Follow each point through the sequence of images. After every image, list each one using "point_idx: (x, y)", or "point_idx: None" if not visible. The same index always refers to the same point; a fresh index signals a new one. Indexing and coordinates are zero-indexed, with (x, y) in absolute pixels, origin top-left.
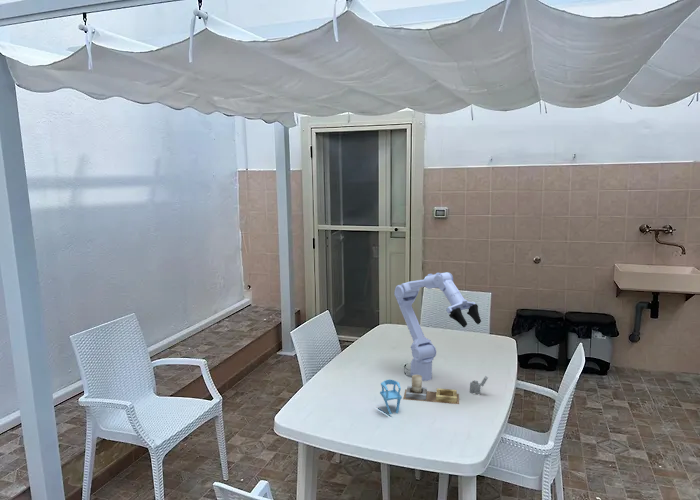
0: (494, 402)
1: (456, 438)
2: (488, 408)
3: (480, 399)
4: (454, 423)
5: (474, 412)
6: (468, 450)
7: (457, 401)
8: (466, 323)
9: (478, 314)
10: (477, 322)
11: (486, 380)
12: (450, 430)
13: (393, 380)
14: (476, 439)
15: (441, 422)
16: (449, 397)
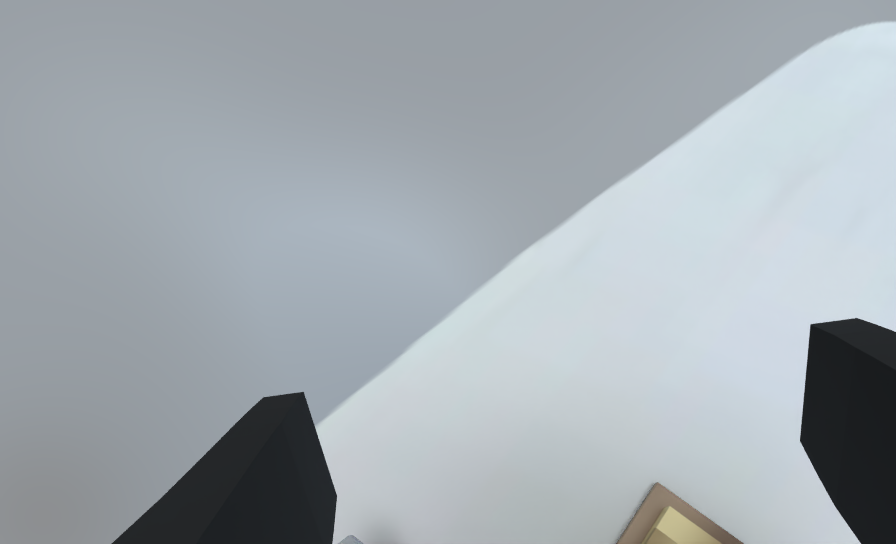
0: (407, 435)
1: (869, 184)
2: (496, 385)
3: (455, 512)
4: (801, 313)
5: (608, 377)
6: (862, 88)
7: (645, 524)
8: (850, 328)
9: (141, 535)
10: (322, 498)
11: (358, 540)
12: (863, 258)
13: None
14: (771, 147)
15: None
16: (717, 540)
